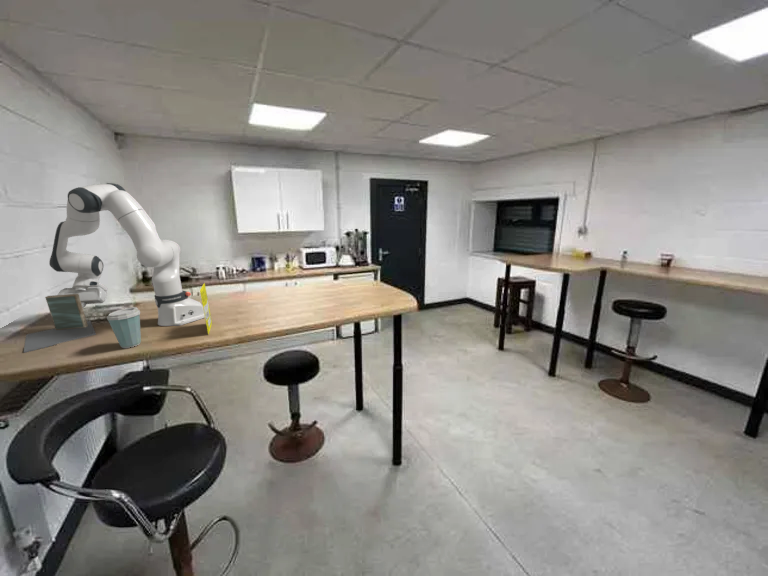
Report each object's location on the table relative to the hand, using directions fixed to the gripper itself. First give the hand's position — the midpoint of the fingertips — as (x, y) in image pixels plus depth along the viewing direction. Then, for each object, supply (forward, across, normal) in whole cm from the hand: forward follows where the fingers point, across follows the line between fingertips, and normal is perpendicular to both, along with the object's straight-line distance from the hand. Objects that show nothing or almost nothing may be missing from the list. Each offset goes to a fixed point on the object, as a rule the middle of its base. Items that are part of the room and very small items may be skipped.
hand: (76, 311), depth 155 cm
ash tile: (+8, 0, +1) cm, 8 cm away
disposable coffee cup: (+28, +39, -18) cm, 51 cm away
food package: (+20, +66, -10) cm, 70 cm away
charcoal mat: (+14, +1, -4) cm, 15 cm away
